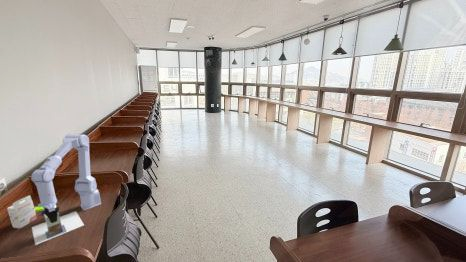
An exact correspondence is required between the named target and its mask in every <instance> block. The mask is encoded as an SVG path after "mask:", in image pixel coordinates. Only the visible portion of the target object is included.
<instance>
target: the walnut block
mask: <svg viewBox="0 0 466 262" xmlns="http://www.w3.org/2000/svg"><path fill="white" fill-rule="evenodd" d="M47 228H48V232H49V235H50V237H51V236H53V235H56V234H58V233H61V232H63V230H62V225H61V223H59V224H56V225H53V226H51V227H47Z"/></svg>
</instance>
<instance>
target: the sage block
mask: <svg viewBox="0 0 466 262" xmlns="http://www.w3.org/2000/svg"><path fill="white" fill-rule="evenodd" d="M43 216H44V219H45V222H46V224H47V227H51V226H53V225H56V224H59V223H61V221H60V217H61V216H60V213H59V212H58V214H57V222H54V223H51V222H50V220H49V218H48V217H47V216H46V215H45V214H43Z"/></svg>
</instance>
